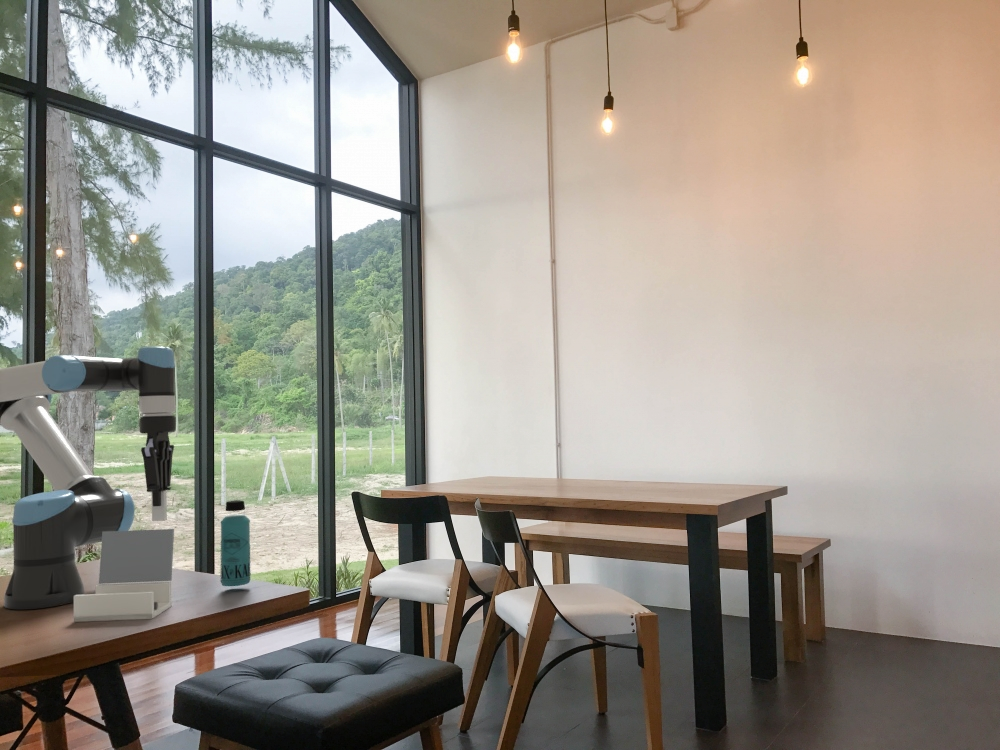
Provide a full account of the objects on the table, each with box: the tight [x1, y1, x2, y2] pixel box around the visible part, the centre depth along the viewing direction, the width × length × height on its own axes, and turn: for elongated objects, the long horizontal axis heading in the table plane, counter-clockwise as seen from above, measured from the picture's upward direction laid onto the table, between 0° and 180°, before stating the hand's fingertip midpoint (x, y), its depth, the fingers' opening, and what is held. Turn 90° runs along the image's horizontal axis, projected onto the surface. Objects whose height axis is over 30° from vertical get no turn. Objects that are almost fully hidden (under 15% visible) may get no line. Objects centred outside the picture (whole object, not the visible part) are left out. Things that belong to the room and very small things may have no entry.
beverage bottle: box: [219, 499, 252, 587], centre depth 179 cm, size 6×7×20 cm
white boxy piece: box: [73, 581, 172, 623], centre depth 160 cm, size 10×15×5 cm, turn 92°
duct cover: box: [98, 528, 175, 585], centre depth 166 cm, size 11×15×1 cm
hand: (159, 520), depth 178 cm, fingers closed
